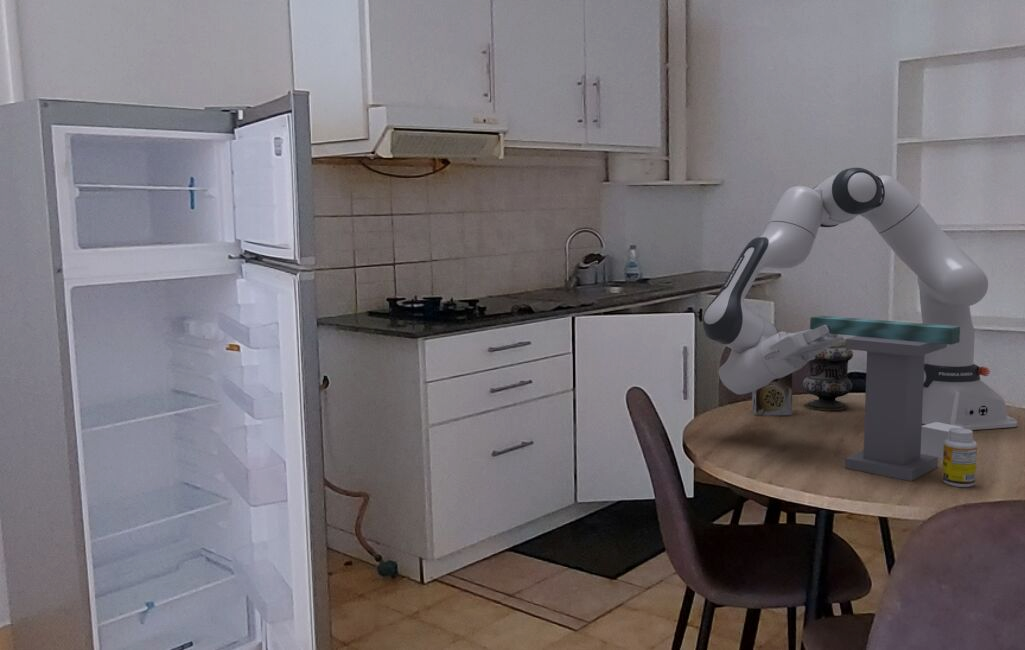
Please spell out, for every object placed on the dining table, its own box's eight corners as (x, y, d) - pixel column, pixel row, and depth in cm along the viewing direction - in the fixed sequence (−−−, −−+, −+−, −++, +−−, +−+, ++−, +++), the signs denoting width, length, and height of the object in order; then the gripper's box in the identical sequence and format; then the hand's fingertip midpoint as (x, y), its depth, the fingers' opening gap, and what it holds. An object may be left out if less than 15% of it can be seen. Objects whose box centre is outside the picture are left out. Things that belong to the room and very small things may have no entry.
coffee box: (787, 410, 234) (788, 347, 232) (792, 416, 228) (794, 351, 225) (750, 410, 235) (751, 347, 233) (754, 415, 228) (756, 351, 226)
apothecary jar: (859, 406, 237) (862, 337, 235) (838, 414, 229) (840, 342, 226) (815, 399, 246) (817, 333, 243) (793, 407, 237) (795, 338, 235)
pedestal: (841, 468, 183) (845, 338, 179) (871, 454, 192) (876, 331, 189) (913, 482, 173) (918, 345, 169) (941, 466, 183) (947, 337, 179)
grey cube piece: (946, 460, 187) (947, 431, 187) (919, 454, 192) (920, 426, 192) (962, 455, 191) (963, 427, 190) (935, 449, 196) (936, 421, 195)
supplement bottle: (944, 477, 176) (946, 425, 174) (976, 481, 173) (979, 428, 171) (940, 485, 171) (942, 431, 170) (973, 489, 168) (976, 435, 167)
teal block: (810, 331, 190) (810, 317, 189) (819, 329, 193) (819, 315, 192) (951, 344, 170) (952, 328, 170) (959, 342, 173) (960, 326, 173)
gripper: (753, 345, 190) (807, 316, 181) (800, 334, 204) (853, 307, 195) (766, 373, 188) (822, 345, 179) (813, 360, 203) (867, 333, 194)
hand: (839, 325), depth 187 cm, fingers open, 8 cm apart
